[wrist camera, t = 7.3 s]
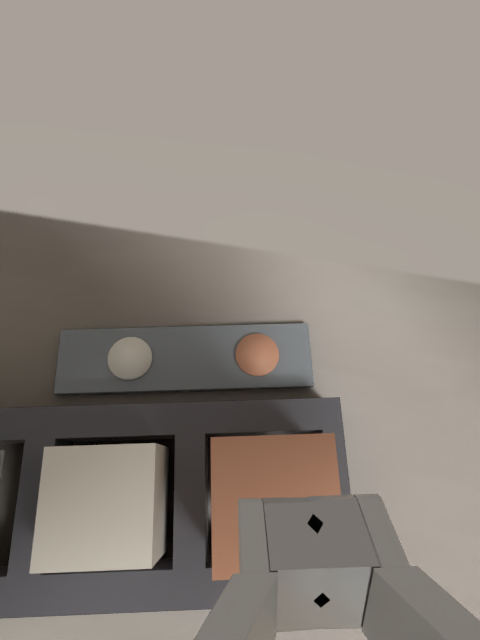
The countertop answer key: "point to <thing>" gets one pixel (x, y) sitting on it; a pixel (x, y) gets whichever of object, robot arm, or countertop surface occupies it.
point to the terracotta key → (264, 481)
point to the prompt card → (183, 358)
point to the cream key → (101, 508)
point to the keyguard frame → (189, 497)
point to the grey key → (1, 461)
